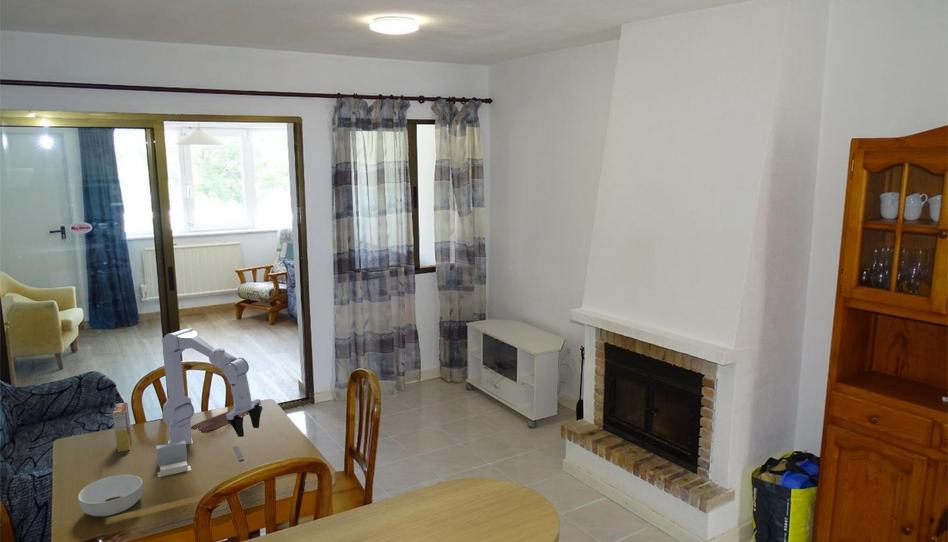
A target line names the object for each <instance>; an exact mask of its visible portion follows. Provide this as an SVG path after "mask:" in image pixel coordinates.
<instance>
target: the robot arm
mask: <svg viewBox="0 0 948 542" xmlns="http://www.w3.org/2000/svg"><path fill="white" fill-rule="evenodd" d="M161 342H162V355H163V363H164V364H163V365H164V372H165V380H166V387H167V395H168V398H167V400H166V402H165V403H164V404H163V406H162V414H161V417H162V421H163V423H164V424H165V425H166V426H167V427H168V433H169V434H168V438H169V439H168V441H167V444H169V443H175V442H180V441H185V442H186V446H187V445H190V444H193V443H194V441H193V438H192V429H191V421H192V417H193V416H194V414H195V408H194V405H193V403H192V399H191V398H190V397H188V396H186V392H185V383H184V377H183V375H184V374H183V367H182V366H183V365H182V358H181V354H182V353H183V352H184V351H185V350H186V349H192V350H195V351H196V352H198V353H200V354H202V355H204V356H205V357H207V358H208V361H209V362H210V363H209V364H212V365H213V366H215V367H216V368H218V369H220V370H221V371H222V372H223V374H224V376H225V377H226V379H227V381H228V382H227V383H228V384H229V385H230V392H231V395H232V400H233V405H234V408H233V409H231V410H232V411H231V410H230V411H231V412H229V413H228V414H226V416H227V421H228V422H229V423H228V424H229V425H231V427H232V428H233V430H234V432H235V433H236V436H237V437H238V438H243V437H245V431H244V416H243V417H240V416H238V415H240V414H242V413H244V412H246V411H248V413H249V414H248V415H249V418H250V420H251V421H250V422H251V424H252V427H253V429H259V428H260V419H261V415H262V411H263V406H262V402H261V401H262V400H261V399H260V398H257V399H254V400H252V396H251V391H250V386H249V379H248V376H247V373H248V372H249V368H250V367H249V366H250V365H249V362H248V361H247V360H246V359H245V358H244V357H235V356H234V355H231V354H230V353H228V352H227V351H226V350H225V349H224V348H215V347H213V346H212V345H210V343H208V342H207V341H205V340H204V339H203V338H201V337H200V336H199V333H198V331H196V330H194V329H193V328H192V327H185V328H184V329H180V330H177V331H174V332H171V333H170V332H169V333H167V334H166V335H164V336H163V337H162V338H161Z"/></svg>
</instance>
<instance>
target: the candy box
mask: <svg viewBox="0 0 948 542" xmlns="http://www.w3.org/2000/svg"><path fill="white" fill-rule="evenodd" d="M129 412H130V411H129V405H128V402H121V403H116V404H115V406H114V409H113V412H112V418H113V425H114V432H115V439H116V448H117V453H121V452H120V451H123V452H129V451H131V447H132V443H133V436H132V428H131V421H130V420H131V419H130V413H129ZM128 450H129V451H128Z"/></svg>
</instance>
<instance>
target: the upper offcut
mask: <svg viewBox="0 0 948 542" xmlns="http://www.w3.org/2000/svg"><path fill="white" fill-rule="evenodd" d="M188 466H189V465H188V461H184V462H179V463H175V464H170V465H165V466H160V467H159V472H160V473H161V477H165V476H164V475H166V476H170V475H174V474H173V473H175V474H178V472H179V473H183V472H182V471H184V472H187V470H188ZM188 471H189V470H188ZM169 474H170V475H169Z"/></svg>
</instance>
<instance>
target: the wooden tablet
mask: <svg viewBox="0 0 948 542" xmlns="http://www.w3.org/2000/svg"><path fill="white" fill-rule="evenodd" d="M232 410H233V409H231V410H229V411H226V412H223V413H221V414H218V415H214V416H212V417H210V418H207V419H204V420H202V421H200V422H197V423H195V424H193V425H192V426H191V425H190V428H193V429H192V430H195V429H197V428H198V429H197V430H198V431H199V432H200V431H201V432H200V433H203V432H204V434H205V432H207V433H209V432H211V430H212V431H214V430H216V428H217V429H218V427H219V428H221V427H224V426H225V425H228V424H230V423H229V422H228V421H227V416H226V414H228V413H229V412H231V411H232ZM247 413H248V411H246V412H244V413H242V414H240V415H238V416H240V417H241V416H243V415H245V414H247ZM247 415H248V414H247ZM245 416H246V415H245ZM243 417H244V416H243ZM223 425H224V426H223Z"/></svg>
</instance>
